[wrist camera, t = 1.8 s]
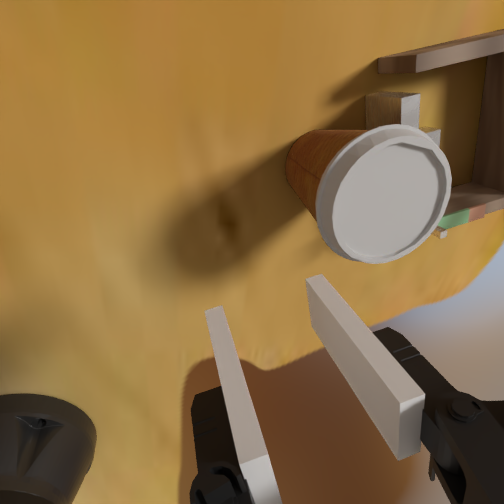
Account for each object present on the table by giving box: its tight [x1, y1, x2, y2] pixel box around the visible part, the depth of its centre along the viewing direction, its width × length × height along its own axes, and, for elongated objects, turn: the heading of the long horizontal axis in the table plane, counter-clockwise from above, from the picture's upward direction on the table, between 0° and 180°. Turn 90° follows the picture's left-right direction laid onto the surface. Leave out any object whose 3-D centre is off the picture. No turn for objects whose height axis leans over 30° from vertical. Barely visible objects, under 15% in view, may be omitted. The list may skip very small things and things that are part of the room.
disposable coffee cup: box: [285, 124, 452, 264], centre depth 27 cm, size 10×10×12 cm
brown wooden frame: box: [378, 29, 504, 229], centre depth 32 cm, size 12×16×5 cm
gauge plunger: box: [365, 91, 447, 239], centre depth 30 cm, size 6×11×9 cm, turn 11°
